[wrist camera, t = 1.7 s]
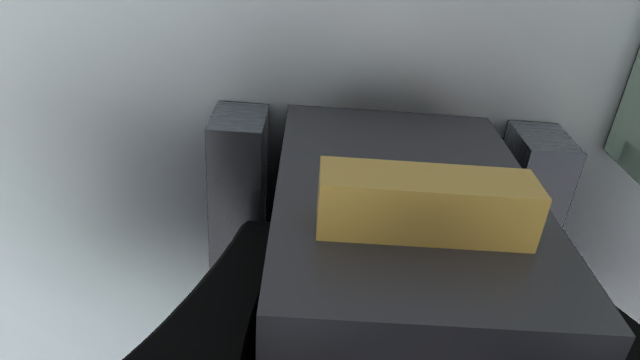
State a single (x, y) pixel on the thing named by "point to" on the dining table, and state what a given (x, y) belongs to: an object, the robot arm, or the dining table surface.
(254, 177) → the grey forked block
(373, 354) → the grey block with tab
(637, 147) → the tray
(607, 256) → the dining table surface
